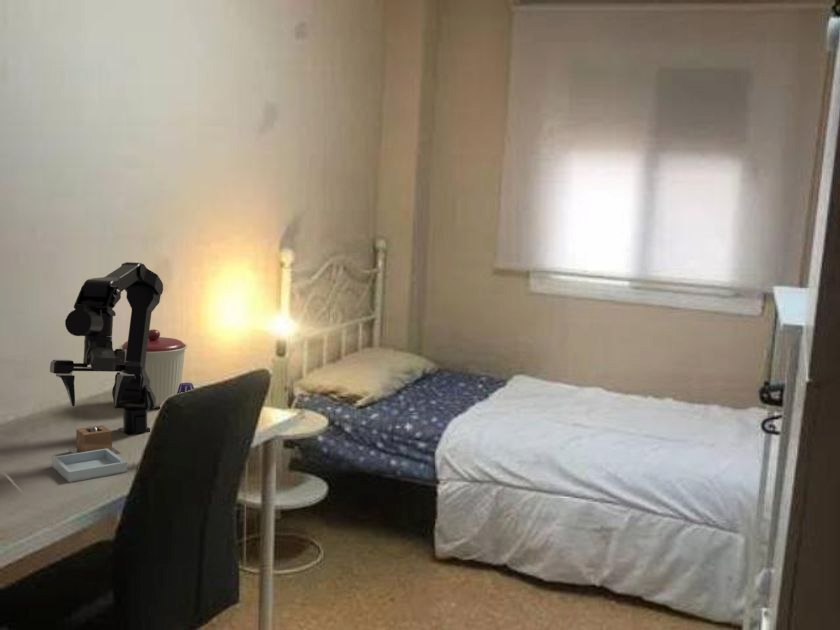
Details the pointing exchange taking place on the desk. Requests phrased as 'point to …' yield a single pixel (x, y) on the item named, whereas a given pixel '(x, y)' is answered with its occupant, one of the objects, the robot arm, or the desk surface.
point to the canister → (163, 364)
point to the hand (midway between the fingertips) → (94, 406)
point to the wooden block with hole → (93, 439)
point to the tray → (89, 464)
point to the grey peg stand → (93, 429)
